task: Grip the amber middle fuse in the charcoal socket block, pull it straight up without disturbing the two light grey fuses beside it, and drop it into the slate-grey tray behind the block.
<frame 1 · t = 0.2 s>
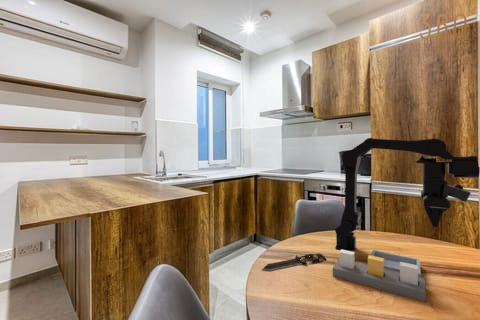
hand: (434, 223, 76), 14 cm above the table, tool pointing down, fingers open, 9 cm apart
fuse left: (347, 273, 74), resting in fuse holder
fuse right: (408, 289, 65), resting in fuse holder
fuse holder: (376, 280, 69), on the table
knife: (294, 265, 82), on the table
tray: (394, 268, 77), on the table
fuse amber: (376, 281, 69), resting in fuse holder
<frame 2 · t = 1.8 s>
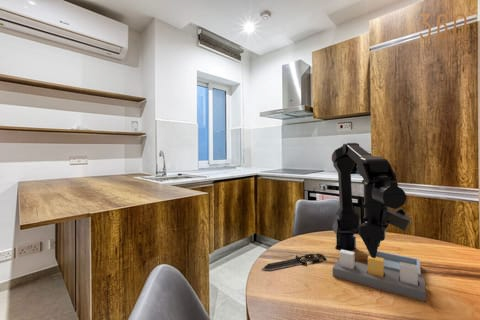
hand: (375, 251, 69), 9 cm above the table, tool pointing down, fingers open, 9 cm apart
nothing on the table moved.
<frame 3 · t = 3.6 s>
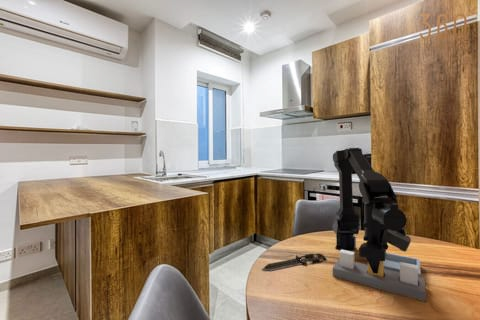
hand: (375, 271, 69), 3 cm above the table, tool pointing down, fingers closed on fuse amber, 2 cm apart
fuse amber: (376, 281, 69), resting in fuse holder, touching gripper
everything else where it was.
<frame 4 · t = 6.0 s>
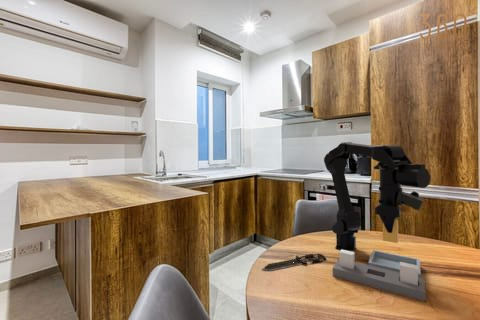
hand: (390, 231, 75), 13 cm above the table, tool pointing down, fingers closed on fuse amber, 2 cm apart
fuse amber: (390, 240, 75), point 10 cm above the table, touching gripper
everything else where it was.
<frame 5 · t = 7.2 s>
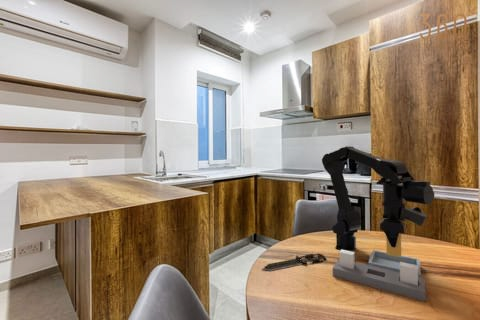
hand: (393, 245, 76), 8 cm above the table, tool pointing down, fingers closed on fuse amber, 2 cm apart
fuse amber: (394, 254, 76), point 4 cm above the table, touching gripper
everything else where it was.
when the fingers open (5 cm above the table, at t = 8.3 s): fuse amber drops 1 cm, resting on tray.
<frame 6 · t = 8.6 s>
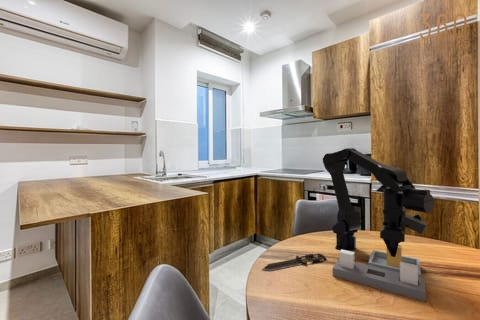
hand: (393, 253, 76), 5 cm above the table, tool pointing down, fingers open, 6 cm apart
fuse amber: (394, 266, 77), point 1 cm above the table, touching tray
everything else where it was.
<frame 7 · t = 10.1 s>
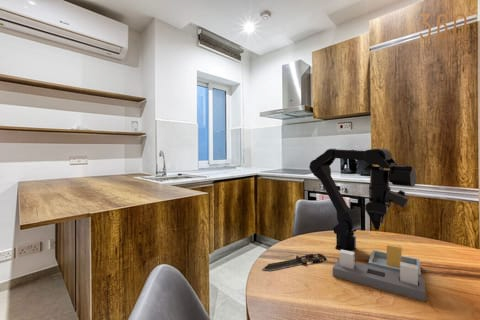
hand: (379, 226, 83), 12 cm above the table, tool pointing down, fingers open, 9 cm apart
nothing on the table moved.
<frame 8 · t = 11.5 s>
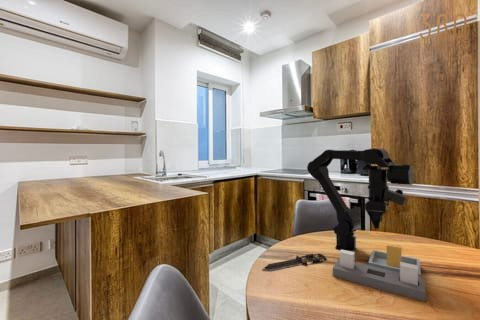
hand: (378, 225, 84), 12 cm above the table, tool pointing down, fingers open, 9 cm apart
nothing on the table moved.
at the end: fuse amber inside the target area on the tray (0.0 cm from its centre), point 0.6 cm above the tray's base; fuse left moved 0.0 cm from its start; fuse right moved 0.0 cm from its start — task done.
